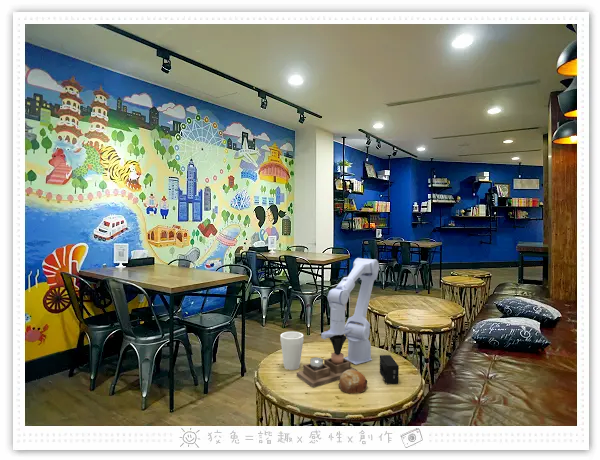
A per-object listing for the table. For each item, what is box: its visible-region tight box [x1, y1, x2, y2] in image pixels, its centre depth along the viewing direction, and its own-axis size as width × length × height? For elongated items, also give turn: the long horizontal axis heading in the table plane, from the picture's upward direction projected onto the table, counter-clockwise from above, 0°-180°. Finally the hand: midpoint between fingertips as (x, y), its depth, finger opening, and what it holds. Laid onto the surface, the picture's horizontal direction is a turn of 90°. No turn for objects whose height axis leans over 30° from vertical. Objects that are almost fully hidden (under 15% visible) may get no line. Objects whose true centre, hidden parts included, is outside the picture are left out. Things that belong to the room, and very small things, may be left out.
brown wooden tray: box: [296, 357, 358, 389], centre depth 137 cm, size 21×11×4 cm, turn 123°
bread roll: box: [337, 369, 368, 394], centre depth 127 cm, size 10×10×8 cm
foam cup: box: [279, 331, 305, 371], centre depth 144 cm, size 10×9×13 cm
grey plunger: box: [309, 357, 324, 370], centre depth 134 cm, size 5×5×3 cm
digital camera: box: [379, 354, 400, 385], centre depth 134 cm, size 10×5×7 cm, turn 2°
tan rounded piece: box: [330, 352, 345, 365], centre depth 139 cm, size 5×5×3 cm
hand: (337, 353), depth 139 cm, fingers closed
